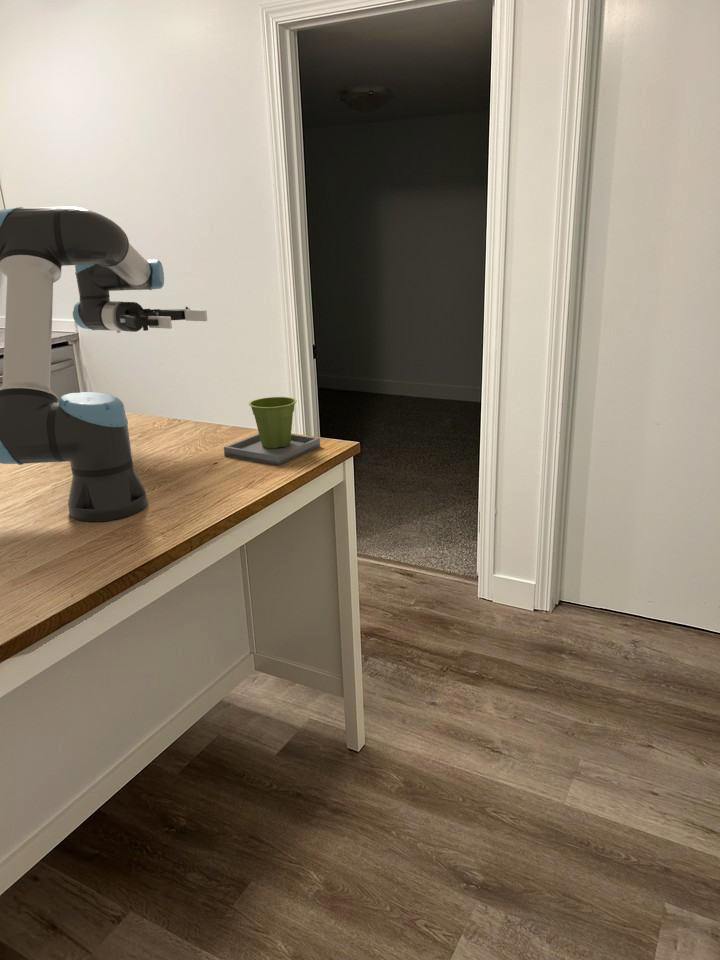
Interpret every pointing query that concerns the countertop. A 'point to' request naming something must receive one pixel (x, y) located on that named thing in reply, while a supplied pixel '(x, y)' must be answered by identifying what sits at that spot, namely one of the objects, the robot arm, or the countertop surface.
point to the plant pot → (274, 420)
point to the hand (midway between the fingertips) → (188, 319)
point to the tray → (277, 456)
